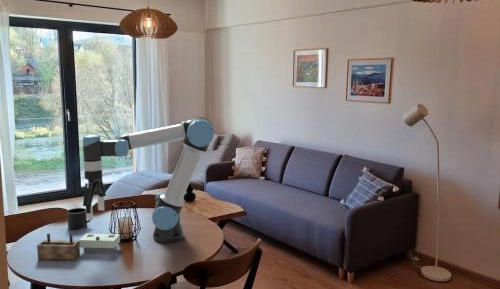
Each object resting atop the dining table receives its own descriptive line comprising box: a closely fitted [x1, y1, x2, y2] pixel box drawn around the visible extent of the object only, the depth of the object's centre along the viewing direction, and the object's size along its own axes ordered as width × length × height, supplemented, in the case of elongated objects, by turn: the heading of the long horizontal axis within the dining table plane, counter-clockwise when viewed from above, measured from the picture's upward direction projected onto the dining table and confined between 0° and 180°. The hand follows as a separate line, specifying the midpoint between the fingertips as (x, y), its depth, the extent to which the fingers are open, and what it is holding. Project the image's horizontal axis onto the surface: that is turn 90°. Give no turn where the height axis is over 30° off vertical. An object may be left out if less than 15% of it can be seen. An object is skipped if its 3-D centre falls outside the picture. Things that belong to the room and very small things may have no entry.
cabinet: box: [36, 233, 81, 262], centre depth 188 cm, size 16×6×10 cm, turn 89°
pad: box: [83, 245, 118, 254], centre depth 197 cm, size 14×4×3 cm, turn 89°
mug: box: [66, 207, 92, 231], centre depth 227 cm, size 9×12×9 cm
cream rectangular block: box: [78, 233, 121, 249], centre depth 196 cm, size 16×8×4 cm, turn 89°
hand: (95, 214), depth 195 cm, fingers open, 13 cm apart
